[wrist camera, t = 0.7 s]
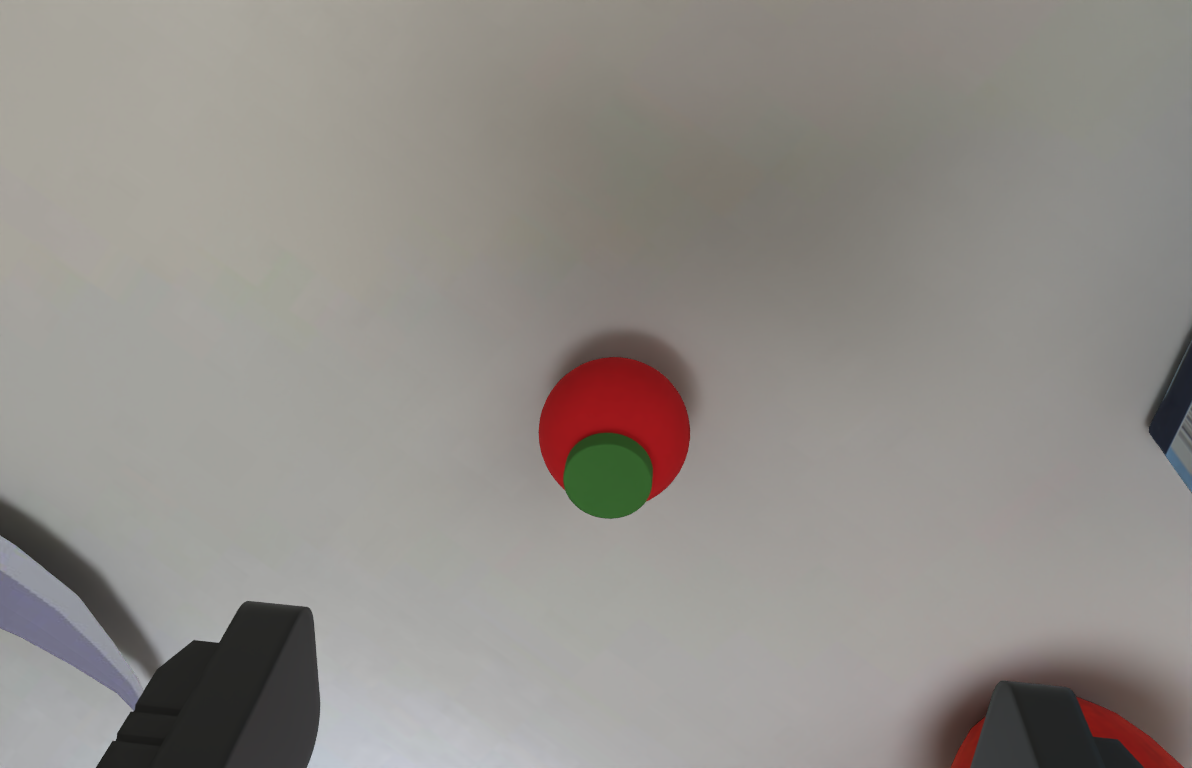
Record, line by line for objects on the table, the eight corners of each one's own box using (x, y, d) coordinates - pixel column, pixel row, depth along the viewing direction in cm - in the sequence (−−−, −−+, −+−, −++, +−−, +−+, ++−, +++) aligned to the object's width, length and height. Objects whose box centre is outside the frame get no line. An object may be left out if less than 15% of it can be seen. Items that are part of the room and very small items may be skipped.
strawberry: (637, 305, 30) (627, 383, 26) (718, 413, 31) (720, 503, 27) (520, 377, 31) (494, 462, 27) (603, 478, 33) (589, 572, 29)
